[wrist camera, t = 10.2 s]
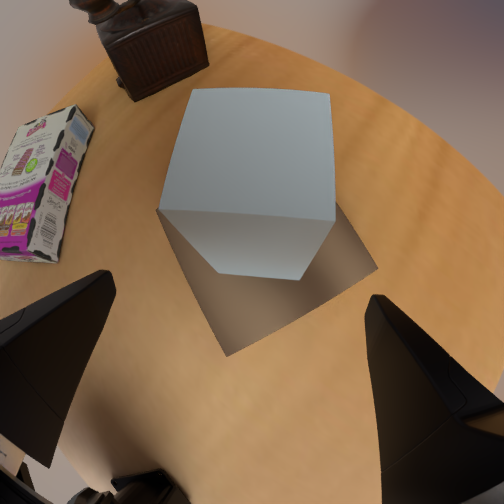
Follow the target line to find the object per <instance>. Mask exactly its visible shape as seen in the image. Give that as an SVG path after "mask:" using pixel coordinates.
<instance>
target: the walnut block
mask: <svg viewBox="0 0 504 504" xmlns="http://www.w3.org/2000/svg"><path fill="white" fill-rule="evenodd" d="M335 206H336V221H335V223H334V225H333V226H332V228H331V230H330V231H329V233H328V235H327V236H326V238H325V240H324V241H323V243H322V245H321V246H320V248H319V250H318V251H317V253H316V255H315V256H314V258H313V259H312V261H311V263H310V264H309V266H308V267H307V269H306V271H305V272H304V274H303V275H302V277H301V279H300V280H289V279H277V278H265V277H254V276H243V275H232V274H222V273H218V272H217V271H216V270H215V269H214V268H213V267H212V266H211V265H210V264H209V263H208V262H207V261H206V260H205V259H204V258H203V257H202V256H201V255H200V254H199V252H198V251H197V250H196V249H195V248H194V247H193V246H192V245H191V244H190V243H189V242H188V241H187V240H186V239H185V238H184V236H183V235H182V234H181V233H180V232H179V231H178V230H177V229H176V228H175V227H174V226H173V225H172V223H171V222H170V221H169V220H168V219H167V218H166V217H165V216H164V215H163V214H162V213H161V211H160V210H159V208H157V209H156V212H157V215H158V217H159V219H160V222H161V224H162V226H163V229H164V231H165V233H166V235H167V238H168V240H169V242H170V245H171V247H172V249H173V251H174V253H175V256H176V258H177V260H178V262H179V264H180V266H181V268H182V271H183V273H184V275H185V277H186V279H187V281H188V283H189V285H190V287H191V289H192V291H193V294H194V296H195V298H196V300H197V302H198V304H199V306H200V308H201V310H202V312H203V314H204V315H205V317H206V319H207V321H208V323H209V325H210V327H211V329H212V331H213V333H214V335H215V337H216V338H217V340H218V342H219V344H220V346H221V348H222V350H223V351H224V353H225V355H226V357H228V356H230V355H232V354H234V353H236V352H237V351H239V350H241V349H243V348H245V347H247V346H249V345H251V344H253V343H255V342H257V341H259V340H260V339H262V338H264V337H266V336H268V335H270V334H272V333H273V332H275V331H277V330H279V329H281V328H282V327H284V326H286V325H288V324H290V323H291V322H293V321H295V320H297V319H298V318H300V317H302V316H303V315H305V314H307V313H309V312H310V311H312V310H314V309H315V308H317V307H319V306H320V305H322V304H324V303H325V302H327V301H329V300H330V299H332V298H334V297H335V296H337V295H338V294H340V293H342V292H343V291H345V290H346V289H348V288H349V287H351V286H353V285H354V284H356V283H357V282H359V281H360V280H362V279H363V278H365V277H366V276H368V275H369V274H371V273H372V272H374V271H375V270H377V269H378V267H377V265H376V264H375V262H374V260H373V259H372V257H371V255H370V254H369V252H368V250H367V249H366V247H365V245H364V244H363V242H362V241H361V239H360V238H359V236H358V234H357V233H356V231H355V230H354V228H353V227H352V225H351V224H350V222H349V221H348V219H347V217H346V216H345V214H344V213H343V212H342V210H341V209H340V207H339V206H338V204H337V203H336V201H335Z"/></svg>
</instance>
